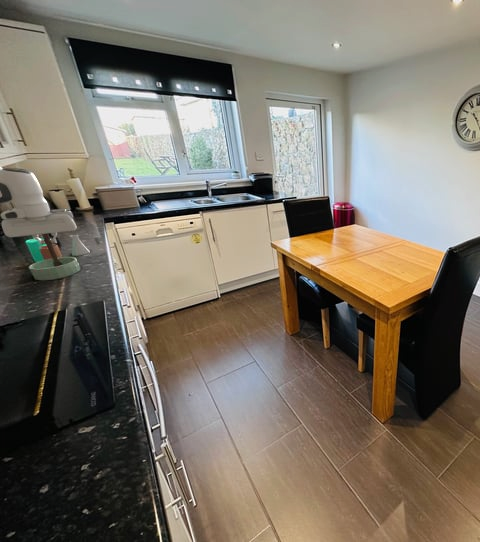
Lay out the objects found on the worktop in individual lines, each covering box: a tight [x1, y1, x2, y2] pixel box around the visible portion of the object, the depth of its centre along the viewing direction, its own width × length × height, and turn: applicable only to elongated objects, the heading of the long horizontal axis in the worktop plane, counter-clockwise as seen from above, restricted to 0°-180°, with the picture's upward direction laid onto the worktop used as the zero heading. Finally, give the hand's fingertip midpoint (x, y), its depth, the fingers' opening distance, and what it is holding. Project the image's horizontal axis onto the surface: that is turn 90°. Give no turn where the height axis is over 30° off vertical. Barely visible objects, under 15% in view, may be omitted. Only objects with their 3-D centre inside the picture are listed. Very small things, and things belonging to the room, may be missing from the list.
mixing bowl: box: [28, 256, 81, 281], centre depth 121 cm, size 14×14×6 cm
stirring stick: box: [41, 233, 63, 267], centre depth 120 cm, size 3×2×16 cm
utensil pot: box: [39, 244, 63, 260], centre depth 129 cm, size 6×6×9 cm
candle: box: [25, 237, 46, 263], centre depth 133 cm, size 6×6×12 cm
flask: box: [69, 234, 91, 256], centre depth 142 cm, size 7×7×10 cm
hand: (48, 243), depth 118 cm, fingers closed on stirring stick, 2 cm apart
